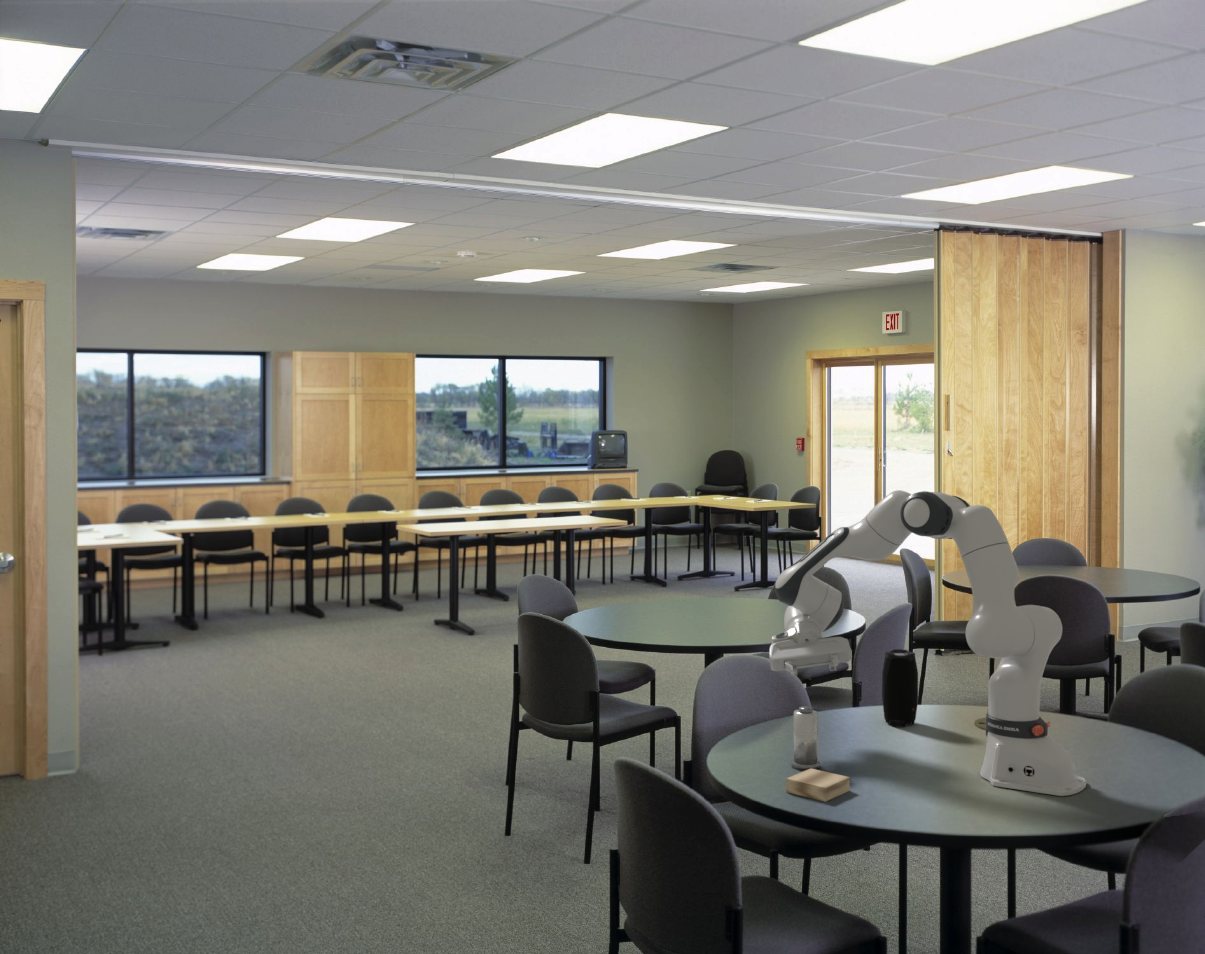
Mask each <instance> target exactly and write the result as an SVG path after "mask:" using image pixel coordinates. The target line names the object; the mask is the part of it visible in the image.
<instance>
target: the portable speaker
mask: <svg viewBox="0 0 1205 954" xmlns="http://www.w3.org/2000/svg"><path fill="white" fill-rule="evenodd" d="M884 654H885V655H884V659H883V667H882V671H881V672H882V673H881V675H882V676H881V683H882V684H881V687H882V688H881V698H882V708H883V717H884V720H885V722H886V723H889V725H890V726H891V727H899V728H905V727H906V726H907V725H909V724H911V725H912V726H913V725H915V720H916V718H917V712H918V711H917V710H918V704H919V703H918V702H919V670H918V665H917V660H916V652H912V651H909V650H907V649H902V648H894V649H892V650H890V651H885V653H884Z"/></svg>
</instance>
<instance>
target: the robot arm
mask: <svg viewBox="0 0 1205 954" xmlns="http://www.w3.org/2000/svg"><path fill="white" fill-rule="evenodd" d="M911 534H914V535H917V536H920V537H926V538H927V537H928V538H931V539H937V540H944V539H946V540H953V541H954V542H955V544H956V546H957V548H958V551H959V554H960V557H961V560H962V562H963V563H962V564H963V565H964V570H965V571H966V574H967V577H968V581H969V585H970V587H971V592H972V613H971V615H970V616H971V617H970V619H969V620H968V622H967V624H966V627H965V639H966V643H967V645H968V647H969V648H970V650H971V651H972V652H973V653H975V655H977V656H979V657H983V658H988V659H1000V662H999V664H998V666H997V668H996V670H995V671H994V672H993V673H992V674H991V676H990V678H989V680H988V689H987V690H988V691H987V692H988V693H987V694H988V695H987V697H988V698H987V700H988V701H987V702H988V703H987V709H988V713H987V712H986V714H985V718H986V730H985V737H986V746H985V752H984V757H983V758H984V759H983V763H982V766H981V769H980V771H979V775H980V776H981V777H982V778H983V779H985V780H987V781H988V782H989V783H990V784H991V785H992V786H993V787H994V786H995V787H999V788H1006V789H1007V788H1008V789H1014V790H1019V791H1026V792H1032V793H1037V794H1038V793H1040V794H1045V795H1050V796H1051V795H1053V796H1059V797H1064V796H1071V795H1075V794H1078V793H1080V792H1082V791H1084V789H1085V788H1086V786H1087V781H1086V779H1085V778H1084V777H1083V776H1079V775H1077V773H1076V767H1075V762H1074V759H1073V756H1072V755H1071V754H1070V753H1069V752H1068V751H1067V750H1065V748H1063V747H1062V746H1061V745H1059V744H1058V743H1057V742H1056V741H1055V740H1054V739H1053V738H1051V736H1050V735H1048V733H1049V732H1048V731H1049V729H1048V728H1050V727H1051V725H1050V724H1051V721H1048V722H1046V721H1045V720H1044V719H1043V718H1042V717H1041V716H1040V707H1041V706H1040V704H1041V703H1040V702H1041V685H1042V679H1043V674H1044V671H1045V668H1046V665H1047V663H1048V661H1049V660H1048V659H1049V656H1050V654H1051V652H1052V651H1053V649H1054V647H1055V646H1056V645H1057V644H1058V643H1059V642H1060V640H1061V639H1062V635H1063V624H1062V620H1061V618H1060V616H1059V615H1058V614H1057V612H1055V610H1053V609H1052V608H1050V607H1047V606H1041V605H1036V604H1025V605H1019V606H1018V605H1016V599H1015V589H1016V588H1015V587H1016V585H1017V584H1018V583H1019V581H1020V578H1021V577H1020V575H1021V574H1020V570H1019V568H1018V565H1017V564H1018V563H1017V562H1016V559H1015V557H1014V554H1013V551H1012V549H1011V546H1010V543H1009V541H1008V538H1007V535H1006V533H1005V531H1004V528H1003V527H1002V525H1001V523H1000V522H999V520H998V518H997V516H996V515H995V513H994V511H993V510H992V509H991V508H990V507H987V506H986V505H980V504H978V505H977V504H976V505H970V504H969V503H968V502H967V501H966V500H965V499H964V498H962V497H960V496H956V495H950V494H947V493H944V492H939V491H925V490H924V491H919V492H915V493H909V492H907V491H904V490H897V489H896V490H894V491H893V490H892V492H890V493H888V494H887V495H886V496H884V497H883V498H882V499H881V500H880V501H879V502H877V504H875V506H874V507H873V508H871V510H870V511H869V512H868V513H867V514H866V515H865V517H863V518H862V519H861V520H860V521H858V522H856V523H854V524H852V525H850V526H846V527H845V526H841V527H838V528H836V529H835V530H834V531H833V532H831V533H830V534H828V535H827V536H826V537H825V538H823V539H822V540H820V541H819V543H817V544H816V545H815V546H813V548H811V549H810V550H809V551H808V552H807V553H806V554H804V555H803V556H802V557H800V559H799V560H798V561H796V562H795V563H793V564H791V565H790V566H788V567H787V568H785V569H784V570H782V572H780V573H779V575H778V577H777V578H776V580H775V583H774V590H775V594H776V597H777V599H778V601H779V602H780V603H782V604H785V605H787V607H786V610H785V612H784V616H783V617H784V618H783V625H784V627H783V628H784V632H781V633H778V634H775V635H772V636H771V645H769V653H768V657H769V665H770V669H771V671H773V672H781V671H786V672H788V673H789V674H791V677H795V676H798V675H799V674H798V669H803V668H810V667H811V668H812V667H818V666H826V665H829V670H830V672H831V671H832V672H833V671H837V670H838V669H837V667H838V665H839V664H840V663H841V664H842V663H847V662H848V663H849V662H850V661H851V660H852V658H853V654H852V649H851V646H850V642H849V639H848V638H845V637H843V636H832V637H825V638H824V637H823V632H826V631H828V630H830V629H831V628H833V627H834V626H835V625H836V624H837V623H838V622H839V620H840V618H841V617H842V615H843V613H844V609H845V601H844V600H845V599H844V595H843V593H842V591H840V590H839V589H836V587H833V586H832V585H830V584H828V583H827V582H824V581H823V580H821V579H819V578H818V577H816V576H814V574H816V572H817V571H818V570H819V571H820V569H821V568H822V567H824V566H825V565H826V564H827V563H828V562H829V561H831V560H833V559H834V558H835V559H836V558H840V557H846V558H853V559H859V560H864V561H868V562H869V561H870V562H877V561H883V560H886V559H887V558H889V557H891V555H893V553H896V551H897V549H899V547H901V545H902V544H903V543H904V541H906V540H907V538H908V537H909V536H910V535H911Z"/></svg>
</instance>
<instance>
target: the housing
mask: <svg viewBox="0 0 1205 954" xmlns="http://www.w3.org/2000/svg"><path fill="white" fill-rule="evenodd" d="M818 715H819V714H818V711H817V710H814V709H813V707H812V706H807V705H804V706H803V705H802V706H799V707H798V709H795V710H793V759H792V760H791V768H792V769H794V770H797V771H801V772H803V771H805V770H808V769H810V768H811V769H816V770H820V769H821V768H820V767H821V761H820V760H819V757H818V755H819V753H818V751H819V749H818V748H819V746H818V745H819V743H818V741H819V738H818V737H819V726H818V724H819V723H818V720H819V719H818V718H819V716H818Z"/></svg>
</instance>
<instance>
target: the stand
mask: <svg viewBox="0 0 1205 954" xmlns="http://www.w3.org/2000/svg"><path fill="white" fill-rule="evenodd" d="M850 779H851V778H850V776H847V775H843V774H842V775H841V774H838V773H832V772H829V771H824V770H820V769H817V770H816V769H811V768H810V769H808V770H805V771H801V772H799V773H796V774H794V775H792V776H789V777H786V779H785V792H786V793H787V794H788V793H789V794H792V795H797V796H801V797H805V798H810V799H813V800H817V801H819V802H821V801H822V802H825V803H826V802H828V801H830V800H833V799H834V798H835V799H836V798H837V797H840V796H841V795H843V794H845V793H848V792H850V791H851V789H850V784H851V783H850V781H851V780H850Z"/></svg>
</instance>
